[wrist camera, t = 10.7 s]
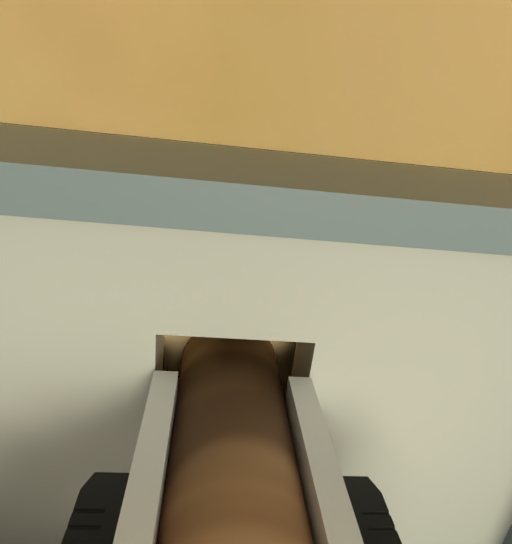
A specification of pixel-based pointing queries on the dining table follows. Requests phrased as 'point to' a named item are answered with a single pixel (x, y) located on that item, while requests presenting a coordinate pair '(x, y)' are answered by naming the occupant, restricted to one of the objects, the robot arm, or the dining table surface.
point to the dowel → (231, 451)
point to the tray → (255, 313)
